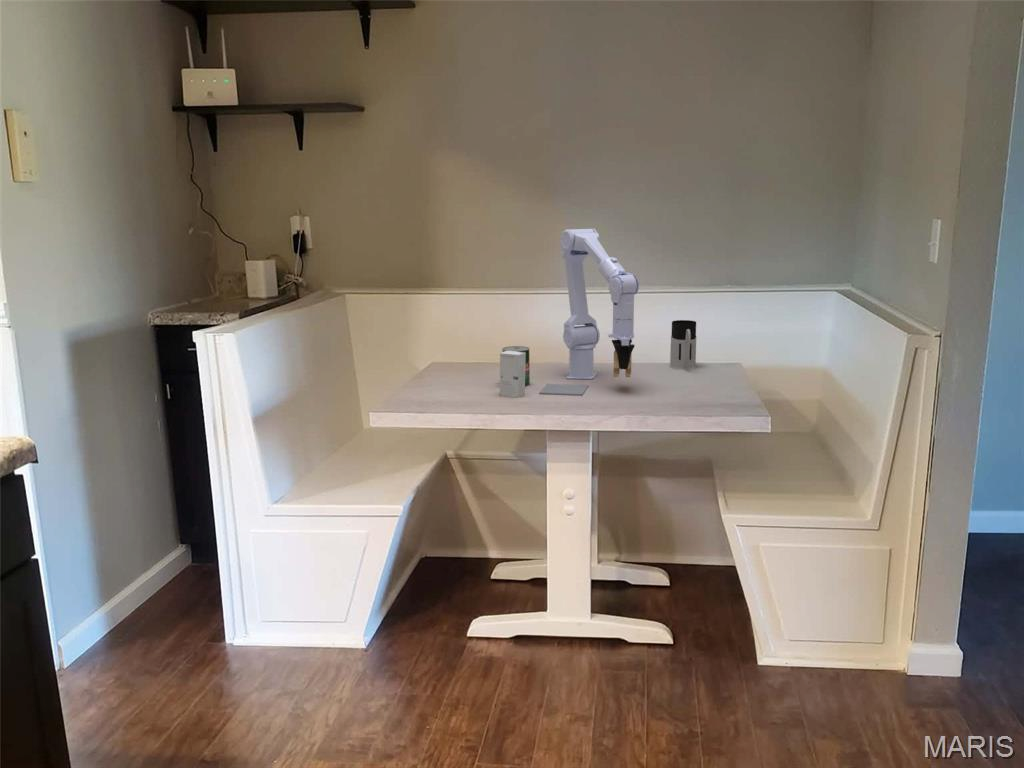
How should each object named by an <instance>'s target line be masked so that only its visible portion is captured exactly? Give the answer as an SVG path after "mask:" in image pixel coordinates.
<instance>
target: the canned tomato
mask: <svg viewBox="0 0 1024 768" xmlns="http://www.w3.org/2000/svg"><path fill="white" fill-rule="evenodd" d="M505 351H517V352H525V353H526V361H525V388H526V387H529V386H530V385H531V383H530V377H531V375H530V374H531V373H530V372H531V371H530V347H528V346H524V345H512V346H505V347H502V351H501V352H505Z"/></svg>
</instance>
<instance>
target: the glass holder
mask: <svg viewBox="0 0 1024 768" xmlns="http://www.w3.org/2000/svg"><path fill="white" fill-rule="evenodd" d="M669 361H670V362H669V363H670V364H669V369H671V370H676V371H690V370H691V371H692V370H695V369H697V366H696V362H697V321H695V320H689V319H688V320H684V319H680V320H679V319H678V320H672V321H671V335H670V360H669Z"/></svg>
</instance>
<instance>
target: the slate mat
mask: <svg viewBox="0 0 1024 768" xmlns="http://www.w3.org/2000/svg"><path fill="white" fill-rule="evenodd" d="M588 388H589V385H588V384H568V383H567V384H565V383H547V384H546V385H545V386H544V387H542V389H541V390H540V391H539V393H538V395H546V396H547V395H548V396H551V395H552V396H572V397H573V396H575V397H576V396H577V397H582V396H584V394H585V393H586V391H587V389H588Z"/></svg>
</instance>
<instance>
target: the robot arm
mask: <svg viewBox="0 0 1024 768" xmlns="http://www.w3.org/2000/svg"><path fill="white" fill-rule="evenodd" d="M600 239H601V237H600V234H599V233H598V232H597V230H596V229H595V228H593V227H592V228H579V229H578V228H575V229H572V228H571V229H570V228H567V229H564V230H563V232H562V234H561V237H560V238H559V242H560V249H561V257H562V259H563V260H564V265H565V266H564V267H565V275H566V282H567V283H566V284H567V292H568V300H569V301H568V302H569V309H570V317H569V318H568V319H567V320H566V321H565V322H564V323H563V333H562V339H563V343H564V344H565V346H566V348H567V349H569V350H568V351H569V354H568V355H569V356H568V357H569V363H568V364H569V367H568V369H569V372H568V375H567V376H566V377H565V378H566V379H569V380H593V379H594V378H595V376H596V375H597V374H598V372H597V371H594V369H595V368H594V367H595V366H594V364H595V363H594V361H595V360H594V348H596V347H597V344H598V343H599V342H600V337H601V334H600V330H599V328H598V325H597V320H596V319H595V317H592V316H591V315H590V314H589V308H588V307H589V306H588V299H587V291H586V290H587V289H586V279H585V273H584V266H583V265H584V264H583V262H584V261H585V259H587V258H588V257H591V258H592V259H593V260H594V261H595V262H596V263H597V264H598V265H599V266H598V272H599V273H600V274H601V275H602V277H603V278H604V279H605V281H606V282H607V283H608V290H609V293H610V297H611V298H610V300H611V302H612V333H608V335H607V337H608V338H613V339H612V340H611V343H612V345H613V348H614V350H615V349H616V352H617V356H618V363H619V368H620V370H625V369H627V368H628V365H629V360H630V356H631V353H633V350H634V348H635V344H633V343H632V342H633V339H634V338H635V334H634V321H635V319H634V317H635V316H634V315H635V313H634V312H635V295H637V293H638V291H639V288H640V283H639V279H638V278H637V276H636V275H635V273H630V272H627V271H626V269H624V267H623V265H621V263H620V262H619V260H618V259H617V257H613V256H609V254H608V253H607V252H606V250H605V249H604V247H603V245H602V243H600Z"/></svg>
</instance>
